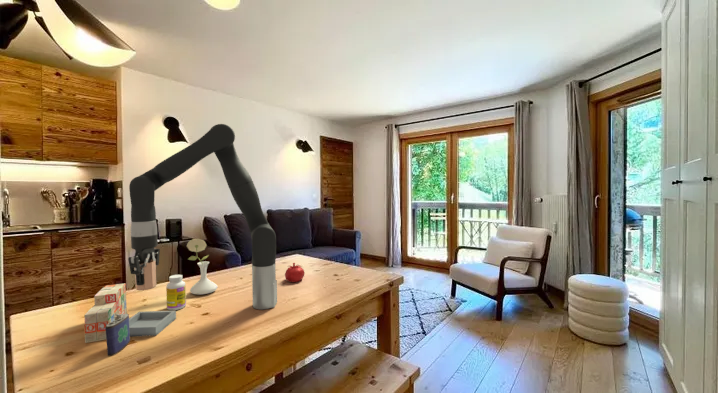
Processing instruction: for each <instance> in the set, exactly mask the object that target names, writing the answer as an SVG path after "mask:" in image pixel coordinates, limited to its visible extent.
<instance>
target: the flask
mask: <svg viewBox="0 0 718 393" xmlns="http://www.w3.org/2000/svg"><path fill="white" fill-rule="evenodd" d="M116 316H117V317H116V318H115V320H114V321H113V322H109V324H107V325H106V328H105V329H106V352H107V357H112V356H115V355H117V354H118V353H120V352H121V351H123V350H124V349H125V348H126V347H127V346H128V345H129V344H130V343H131V337H130V332H129V318H130V315H129V314H128V313H127V314H124V315H123V314H116Z"/></svg>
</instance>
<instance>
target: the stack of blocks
mask: <svg viewBox="0 0 718 393" xmlns="http://www.w3.org/2000/svg"><path fill="white" fill-rule="evenodd" d="M126 285H127V284H126V283H115V284H107V285H105V286H103V287H102V288H101V289H100V290H99V291H97V293H96V294H95V295H94V305H93V306H92V307H91V308H89V310H88V311H87V312H86V313H85V314H84V344H85V343H86V344H87V343H93V342H98V341H105V340H106V329H105V328H106V325H107V324H109V322H113V321H114V320H115V318H116V317H117V316H116V314H123V315H124V314H128V308H127V307H128V306H127V288H126V287H127V286H126ZM106 341H107V340H106Z"/></svg>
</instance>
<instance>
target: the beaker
mask: <svg viewBox="0 0 718 393" xmlns="http://www.w3.org/2000/svg"><path fill="white" fill-rule="evenodd" d="M139 264H140V263H139ZM140 265H143V264H140ZM156 268H157V265H156V261H152V260H151V263H147V266H146V267H145V268H144V284H143V285H137V284H136V275H135V274H134V276H135V278H134V279H135V280H134V281H135V290H136V291H148V290H151V289H154V288H156V287H157V269H156ZM140 271H141V267H140Z"/></svg>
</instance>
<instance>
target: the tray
mask: <svg viewBox="0 0 718 393" xmlns="http://www.w3.org/2000/svg"><path fill="white" fill-rule="evenodd" d="M176 319H177V310H158V311H157V310H151V311H150V310H149V311H138V312H136V313H135V314H134V315H132V316H131V317H129V332H130V338H131V337H135V338H136V337H156V336H157V335H159V334H160V333H161V332H162V331H163V330H165V329H166V328H167V327H168V326H169V325H170V324H172V322H174V321H176Z"/></svg>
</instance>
